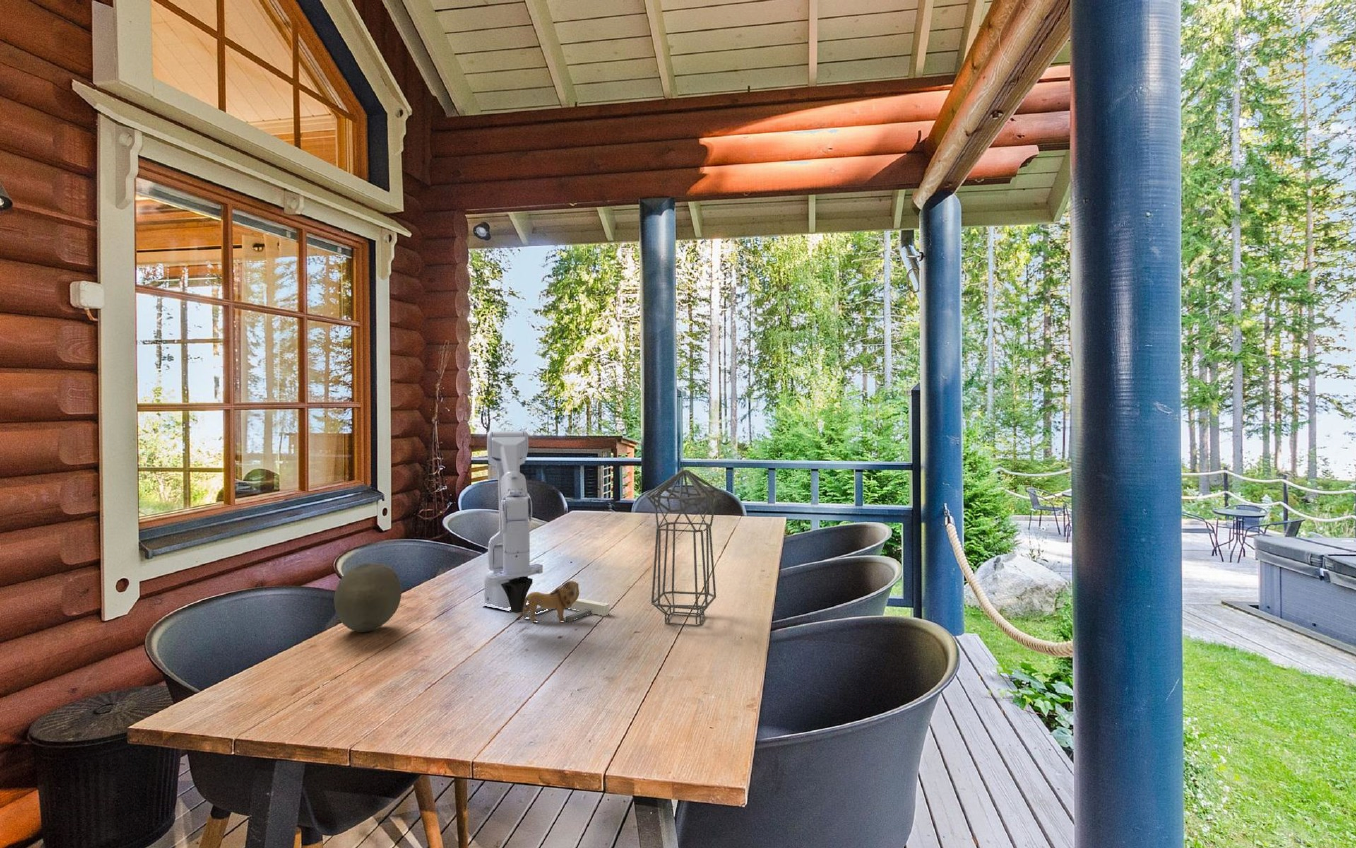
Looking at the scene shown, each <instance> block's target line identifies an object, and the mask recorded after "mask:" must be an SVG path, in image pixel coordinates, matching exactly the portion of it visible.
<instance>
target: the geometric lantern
mask: <svg viewBox="0 0 1356 848" xmlns="http://www.w3.org/2000/svg"><path fill="white" fill-rule="evenodd" d="M687 479H688V481H689V482H690V484H691V485H692V487H693V488H694V489H695V491H696V493H693V492H691V493H690V492H689V487H688V481H687ZM679 481H680V482H679ZM678 483H680V485H679V490H677V489H676V487H677V485H678ZM705 485H706V486H707V487H709V488H711V489H708V488H707V487H706V486H705ZM683 486H685V491H683ZM670 487H672V488H671V489H670ZM664 492H667V493H668V495H662V494H663V493H664ZM675 493H677V494H679V496H678V495H677V494H675ZM720 493H722V490H720V489H719V488H717V487H715V486H713V485H712V484H711V483H709V482H707V481H705V480H704V479H703V478H701V477H699V476H698V475H696V474H694V473H693V472H691V471H690V470H689V469H680V470H679V471H678V472H677V473H676V474H675V475H673V476H671V477H670V478H668V479H667V480H666V481H664V482H663V483H661V484H659V485H658V486H656V487H655V488H654V489H652V490H651V491H649V492H647V493H646V494H645V498H646V499H647V500H648V501H649V502H650V503H651V504H652V506H653V507H654V511H655V512H654V514H655V520H656V521H655V523H656V530H655V533H656V534H655V545H654V561H653V573H652V586H651V587H652V588H651V589H652V590H651V602H650V603H651V605H652V606H653V607H655V608H656V609H658V610H659V611H660V612H661V613H662V614H663V615H664V624H666V625H673V626H687V627H688V626H689V627H698V626H702V624H703V621H704V619H705V616H706V614H705V611H706V610H707V609H708V608H709V606H710V605H711V604H712V603H713V602H714V600H715V599H717V593H716V592H717V591H716V590H717V588H716V579H715V578H716V577H715V576H716V575H715V566H714V562H715V561H714V552H713V551H714V550H713V539H712V526H713V522H714V521H713V520H714V515H715V511H716V510H715V509H716V507H717V502H718V501H717V500H718V498H719V496H720ZM683 495H687V497H684V498H683ZM690 496H691V497H690ZM661 499H666V502H667V504H668V507H667V506H666V505H665V504H663V503H661ZM670 500H678V502H679V507H680V508H678V509H672V508H671V505H670V504H671V503H670ZM692 500H694V501H692ZM706 500H707V503H708V504H707V507H708V509H706V510H705V513H704V515H702V513H701V511H700V509H699V507H698V506H700V504H701V503H702V502H704V501H706ZM690 501H692V502H690ZM683 504H684V505H683ZM692 506H694V507H696V509H697V512H698V514H699V516H700V517H701V519H702V520H701V522H693V521H691V519H690V518H689V516H688V514H687V512H686V511H685V510H686V509H688V508H690V507H692ZM658 508H659V510H660V512H661V515H662V517H663V518H662V520H661V521H660V523H659V516H658V515H659V514H658ZM661 508H663V509H665V510H666V513H665V515H664V512H663V511H662V509H661ZM708 511H711V517H710V522H709V523H707V522H706V521H705V519H706V516H707V513H708ZM678 512H679V513H678ZM668 513H678V515H677V516H676V518H675V520H674V521H672V522H671V521H670V522H668V520H667V519H666V517H667V515H668ZM682 514H683V515H684V516H685V518H686V520H687V522H682V521H681V522H679V521H678V520H679V519H680V516H681V515H682ZM664 521H665V523H664ZM669 525H673V527H672V528H673V529H671V528H669ZM676 525H690V526H691V528H692V529H693V530H692V529H676ZM694 525H699V527H698V529H697V528H695V526H694ZM703 525H704V526H705V528H704V529H701V528H702V526H703ZM664 526H665V528H663V527H664ZM661 531H665V540H664V541H665V544H664V545H665V546H664V561H663V562H664V563H663V578H662V579H663V580H662V581H663V582H662V593H661V539H662V538H661V536H662V535H661V534H662V532H661ZM669 532H672V561H671V563H672V564H671V565H672V567H671V570H672V572H671V590H670V591H665V590H666V578H667V577H666V576H667V563H668V562H667V559H668V542H669ZM676 532H685V533H693V534H692V535H693V541H692V542H693V562H694V563H693V565H694V568H693V569H694V592H693V591H682V590H681V591H680V590H678V591H677V590H675V558H676V556H675V554H676ZM704 532H705V535H706V536H705V538H706V539H705V540H704ZM696 533H700V543H701V545H700V546H701V560H702V572H703V573H702V574H703V575H702V576H703V591H704V592H698V590H699V589H698V566H697V562H698V561H697V539H696ZM704 541H706V555H705V542H704ZM709 548H710V549H709ZM709 552H710V553H709ZM709 555H710V556H709ZM705 556H706V557H705ZM705 558H706V559H705ZM710 562H711V576H712V589H713V594H712V593H710ZM656 573H657V597H656V598H655V586H656ZM674 594H675V595H676V594H678V595H679V594H680V595H695V596H694V597H695V598H694V599H695V605H694V604H675V595H674ZM667 595H671V597H672V604H671V602H670V599H668V597H667ZM699 595H700V596H704V600H703V601H702V603H701V605H699V599H698V598H699ZM663 596H664V598H665V600H666V601H667V603H668V604H664V603H663V604H661V598H662V597H663ZM709 596H710V597H712V598H711V599H710V600H709V601H708V597H709ZM704 604H705V605H704ZM665 608H667V610H665ZM676 609H684V610H692V611H693V610H694V611H696V612H685V611H676ZM668 612H669V613H668ZM671 616H675V617H676V616H677V617H688V618H690V617H691V618H695V623H678V622H677V623H676V622H670V617H671ZM698 619H699V622H698Z"/></svg>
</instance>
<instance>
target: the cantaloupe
mask: <svg viewBox="0 0 1356 848" xmlns="http://www.w3.org/2000/svg"><path fill="white" fill-rule="evenodd" d="M402 592H403V591H402V583H401V581H400V578H399V575H398V573H397V572H396V570H394V569H393V568H392V567H391V566H389V565H387V564H384V563H379V562H366V563H361V564H358V565H356V566H355V567H352V568H351V569H349V570H347V571H346V572H345V573H344V575H343V576H342V577H341V579H340V581H339V582H338V585H337V586H336V589H335V591H334V596H333V604H334V610H335V612H336V615H337V616H338V619H339V620H340V622H341V623H342V625H344V626H345V627H346V628H348V629H350V630H351V631H354V632H357V633H366V632H365V631H368V632H371V630H372V631H374V630H377V629H379V628H380V627H381V626H383V625H385V624H386V623H387V622H389V620H391V618H392V617H393V616H394V615H395V613H397V610H398V609H399V605H400V603H401V598H402V594H403V593H402Z"/></svg>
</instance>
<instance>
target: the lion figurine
mask: <svg viewBox="0 0 1356 848" xmlns="http://www.w3.org/2000/svg"><path fill="white" fill-rule="evenodd" d="M549 593H550V594H545V593H542V592H539V591H533V592H530V593H528V594H527V595H526V598H525V602H524V606H523V610H522V612H520V613H519V616H518V617H516V619H515V621H520V620H521V619H522V617H524V618H526V617H529V618H530V619H531V621H538V622H539V620H538V619H536V618H535V615H534V614H535V611H536V609H537V608H538V606H539V608H540V607H542V608H544V609H548V610H550V611H552V610H551V609H553V610H556V612H557V614H556V617H557V619H558V618H559V619H558V621H559V622H560V621H565V622H566V619H563V617H564V613H565V612H564V610H566V609H565V608H570V607H571V606H572V604H573V603H574V602H575V601H576V600H577V599H578V598H579V597H580V596H579V595H580V587H579V583H578V582H576V581H574V580H568V581H566V582H564V584H562V586H559V587H557V588H556V589H555V590H553V591H552V592H549ZM527 602H528V603H529V604H528V605H527V606H526V603H527ZM529 612H530V614H529ZM528 614H529V616H528ZM524 618H523V619H524Z"/></svg>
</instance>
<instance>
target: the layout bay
mask: <svg viewBox="0 0 1356 848" xmlns="http://www.w3.org/2000/svg"><path fill="white" fill-rule="evenodd" d="M550 593H551V592H545V593H544V594H550ZM570 609H576V610H579V611H576V612H575V613H572V614H568V615H566V616H565V621H566V620H568V621H572V620H574V619H576V618H580V617H582V616H585V615H587V614H590V615H594V614H598V615H597V616H600V615H602V616H601V617H606V615H607V616H609V615H610V614H611V613H610V609H611V607H610V603H606V602H601V601H595V600H590V599H584V598H579V597H578V599H577V600H576V601H575V602H574V603H573V604H572V606H571V607H570ZM544 610H546V609H544V608H542V607H540V606H539V607H537V609H536V611H535V612H536V613H538V612H540V611H544ZM591 613H592V614H591ZM608 614H609V615H608ZM587 616H588V615H587ZM585 617H586V616H585ZM582 618H583V617H582ZM580 619H581V618H580ZM568 621H567V622H568ZM572 622H573V621H572Z"/></svg>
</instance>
